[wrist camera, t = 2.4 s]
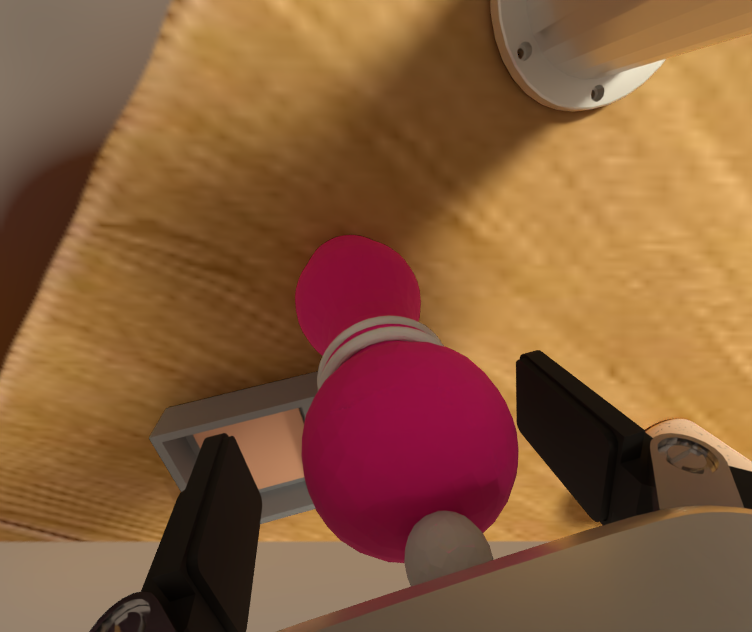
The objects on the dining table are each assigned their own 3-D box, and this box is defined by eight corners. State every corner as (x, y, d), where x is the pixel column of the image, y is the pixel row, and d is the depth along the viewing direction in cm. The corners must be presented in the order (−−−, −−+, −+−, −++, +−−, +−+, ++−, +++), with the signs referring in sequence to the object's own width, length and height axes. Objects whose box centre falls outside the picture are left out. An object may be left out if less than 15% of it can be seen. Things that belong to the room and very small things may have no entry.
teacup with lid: (629, 425, 36) (763, 534, 25) (707, 407, 37) (868, 505, 26) (610, 504, 41) (715, 623, 30) (679, 486, 42) (804, 595, 31)
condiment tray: (166, 408, 26) (148, 437, 23) (433, 342, 28) (447, 363, 25) (218, 503, 30) (209, 538, 28) (445, 442, 32) (458, 469, 29)
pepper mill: (303, 330, 25) (286, 747, 7) (291, 229, 22) (212, 505, 4) (400, 321, 26) (597, 665, 8) (400, 224, 23) (707, 425, 5)
